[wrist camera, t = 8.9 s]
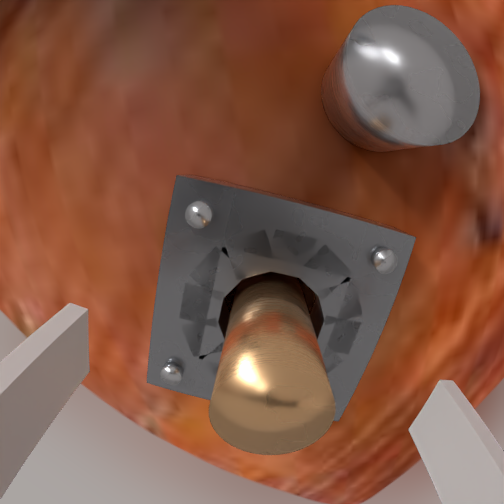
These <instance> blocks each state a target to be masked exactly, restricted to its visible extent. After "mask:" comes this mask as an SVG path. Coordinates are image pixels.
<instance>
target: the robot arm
mask: <svg viewBox="0 0 504 504" xmlns="http://www.w3.org/2000/svg"><path fill="white" fill-rule="evenodd" d="M89 371H90V369H89V345H88V309H86V308H84V307H81V306H78V305H75V304H72V303H69V304H68V305H67V306H65V307H64V308H63V309H62V310H60V311H59V312H58V313H57V314H55V315H54V316H53V317H52V318H51V319H49V320H48V321H47V322H46V323H45V324H43V325H42V326H41V327H40V328H39V329H37V330H36V331H35V332H34V333H33V334H31V335H30V336H29V337H28V338H27V339H26V340H25V341H23V342H22V343H21V344H20V345H19V346H18V347H16V348H15V349H14V350H13V351H12V352H11V353H9V354H8V355H7V356H6V357H5V358H4V359H3V360H2V361H1V362H0V499H1V498H2V496H3V495H4V493H5V492H6V490H7V489H8V487H9V485H10V484H11V482H12V481H13V479H14V478H15V476H16V475H17V473H18V471H19V470H20V468H21V467H22V465H23V464H24V462H25V461H26V459H27V457H28V456H29V455H30V453H31V452H32V451H33V449H34V448H35V446H36V444H37V443H38V442H39V440H40V439H41V437H42V436H43V434H44V433H45V432H46V430H47V429H48V427H49V426H50V424H51V423H52V422H53V420H54V419H55V418H56V416H57V415H58V413H59V412H60V410H61V409H62V408H63V406H64V405H65V403H66V402H67V401H68V399H69V398H70V397H71V395H72V394H73V392H74V391H75V390H76V389H77V387H78V386H79V385H80V383H81V382H82V381H83V379H84V378H85V377H86V375H87V374H88V373H89ZM408 430H409V432H410V434H411V436H412V438H413V441H414V443H415V445H416V447H417V449H418V451H419V453H420V456H421V458H422V460H423V462H424V464H425V466H426V469H427V471H428V473H429V475H430V478H431V480H432V482H433V484H434V487H435V489H436V491H437V493H438V496H439V498H440V501H441V503H442V504H504V450H503V449H502V448H501V446H500V445H499V443H498V442H497V440H496V439H495V438H494V436H493V435H492V434H491V432H490V430H489V429H488V427H487V426H486V425H485V423H484V422H483V420H482V419H481V418H480V416H479V415H478V413H477V412H476V411H475V409H474V408H473V407H472V405H471V404H470V403H469V401H468V400H467V399H466V397H465V396H464V395H463V393H462V392H461V391H460V389H459V388H458V387H457V385H456V384H455V383H454V381H453V380H439V382H438V383H437V385H436V387H435V388H434V390H433V392H432V393H431V395H430V397H429V398H428V400H427V402H426V403H425V405H424V406H423V408H422V410H421V411H420V413H419V414H418V416H417V417H416V419H415V420H414V422H413V423H412V425H411V426H410V428H409V429H408Z"/></svg>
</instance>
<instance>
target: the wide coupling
mask: <svg viewBox="0 0 504 504" xmlns="http://www.w3.org/2000/svg"><path fill="white" fill-rule="evenodd" d="M321 96H322V103H323V107H324V110H325V112H326V115H327V117H328V118H329V120H330V122H331V123H332V125H333V126H334V128H335V129H336V130H337V131H338V132H339V133H340V134H341V135H342V136H343V137H344V138H345V139H347V140H348V141H349V142H351V143H352V144H354V145H356V146H358V147H360V148H363V149H366V150H370V151H376V152H386V151H393V150H401V149H408V148H417V147H425V146H434V145H443V144H447V143H450V142H453V141H455V140H457V139H459V138H460V137H461V136H463V135H464V134H465V133H466V132H467V131H468V130H469V128H470V127H471V125H472V124H473V122H474V120H475V118H476V115H477V112H478V108H479V101H480V90H479V82H478V77H477V73H476V70H475V67H474V65H473V62H472V60H471V58H470V56H469V54H468V52H467V50H466V49H465V47H464V46H463V44H462V43H461V42H460V41H459V39H458V38H457V37H456V36H455V35H454V34H453V33H452V32H451V31H450V29H448V28H447V27H446V26H445V25H444V24H443V23H441V22H440V21H438V20H437V19H435V18H434V17H432V16H430V15H429V14H427V13H425V12H422V11H420V10H417V9H414V8H411V7H406V6H398V5H390V6H383V7H379V8H376V9H373V10H371V11H369V12H368V13H366V14H365V15H363V16H362V17H361V18H360V19H359V20H358V22H357V23H356V24H355V26H354V27H353V29H352V30H351V32H350V33H349V35H348V36H347V38H346V40H345V41H344V43H343V44H342V46H341V47H340V49H339V51H338V52H337V54H336V55H335V57H334V59H333V60H332V62H331V63H330V65H329V67H328V68H327V70H326V72H325V74H324V77H323V80H322V86H321Z"/></svg>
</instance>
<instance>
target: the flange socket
mask: <svg viewBox="0 0 504 504" xmlns="http://www.w3.org/2000/svg"><path fill="white" fill-rule="evenodd" d="M415 239H416V237H414V236H412V235H410V234H408V233H406V232H404V231H401V230H399V229H397V228H395V227H392V226H389V225H386V224H382V223H379V222H376V221H372V220H369V219H366V218H362V217H359V216H356V215H352V214H349V213H345V212H342V211H338V210H334V209H331V208H327V207H324V206H320V205H316V204H312V203H309V202H305V201H301V200H297V199H293V198H290V197H286V196H282V195H278V194H274V193H270V192H266V191H262V190H257V189H253V188H249V187H245V186H241V185H236V184H232V183H227V182H223V181H219V180H214V179H209V178H205V177H200V176H195V175H177V176H176V181H175V186H174V190H173V195H172V200H171V206H170V211H169V216H168V222H167V227H166V233H165V239H164V244H163V250H162V257H161V263H160V270H159V276H158V283H157V290H156V298H155V306H154V314H153V322H152V331H151V340H150V350H149V361H148V373H147V383H150V384H153V385H156V386H159V387H163V388H166V389H170V390H173V391H177V392H181V393H184V394H188V395H192V396H196V397H200V398H204V399H208V400H211V397H212V392H213V388H214V383H215V379H216V375H217V370H218V366H219V362H220V357H221V353H222V349H223V344H224V340H225V336H226V331H227V327H228V323H229V318H230V313H229V311H228V308H227V305H226V302H225V297H226V295H227V294H228V293H229V292H230V291H231V290H232V289H233V288H234V287H235V286H236V285H237V284H238V283H239V282H240V281H241V280H242V279H244V278H248V277H252V276H255V275H259V274H263V273H266V272H270V271H272V272H276V273H281V274H285V275H289V276H293V277H298V278H300V279H301V280H302V281H303V282H304V283H305V284H306V285H307V286H308V287H309V288H310V289H312V290H313V291H314V293H315V297H316V299H315V302H314V305H313V308H312V311H311V314H310V318H311V321H312V324H313V328H314V331H315V334H316V338H317V341H318V345H319V348H320V351H321V355H322V358H323V362H324V365H325V369H326V372H327V376H328V379H329V383H330V387H331V390H332V394H333V397H334V401H335V408H336V409H335V416H334V420H333V421H339V419H340V418H341V416H342V414H343V412H344V410H345V408H346V406H347V405H348V403H349V401H350V399H351V397H352V395H353V393H354V391H355V389H356V387H357V385H358V383H359V381H360V379H361V377H362V375H363V373H364V371H365V369H366V366H367V364H368V362H369V360H370V358H371V356H372V353H373V351H374V349H375V347H376V344H377V342H378V340H379V338H380V335H381V333H382V331H383V328H384V326H385V323H386V321H387V318H388V316H389V313H390V311H391V308H392V306H393V303H394V301H395V298H396V295H397V293H398V290H399V287H400V284H401V282H402V279H403V276H404V273H405V270H406V267H407V264H408V261H409V258H410V255H411V252H412V249H413V246H414V243H415Z"/></svg>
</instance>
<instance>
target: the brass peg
mask: <svg viewBox="0 0 504 504" xmlns="http://www.w3.org/2000/svg"><path fill="white" fill-rule="evenodd" d="M335 409H336V408H335V401H334V397H333V394H332V390H331V387H330V383H329V379H328V376H327V372H326V369H325V365H324V362H323V358H322V355H321V351H320V348H319V345H318V341H317V338H316V334H315V331H314V328H313V324H312V321H311V318H310V314H309V311H308V308H307V304H306V301H305V298H304V295H303V291H302V288H301V286H300V284H299V282H298V280H297V279H296V278H295V277H293V276H289V275H285V274H281V273H276V272H272V271H270V272H266V273H263V274H259V275H255V276H252V277H248V278H244V279H242V280H241V281H240V282H239V284H238V286H237V289H236V293H235V297H234V301H233V305H232V310H231V314H230V318H229V323H228V327H227V331H226V336H225V340H224V344H223V349H222V353H221V357H220V362H219V366H218V370H217V375H216V379H215V383H214V388H213V392H212V397H211V401H210V406H209V418H210V422H211V424H212V426H213V428H214V430H215V431H216V433H217V434H218V435H219V436H220V437H221V438H222V439H223V440H224V441H226V442H227V443H229V444H230V445H232V446H234V447H236V448H238V449H241V450H243V451H246V452H250V453H255V454H262V455H279V454H286V453H291V452H295V451H298V450H301V449H303V448H305V447H307V446H309V445H311V444H313V443H314V442H316V441H317V440H319V439H320V438H321V437H322V436H323V435H324V434H325V433H326V432H327V431H328V429H329V428H330V426H331V424H332V422H333V420H334V416H335Z"/></svg>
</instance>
